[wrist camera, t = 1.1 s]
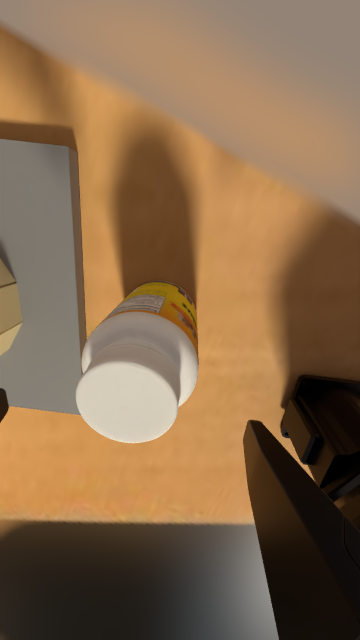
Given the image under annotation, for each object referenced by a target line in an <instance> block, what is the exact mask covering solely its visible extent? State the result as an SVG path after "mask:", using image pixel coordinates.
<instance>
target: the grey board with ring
mask: <svg viewBox="0 0 360 640" xmlns="http://www.w3.org/2000/svg"><path fill="white" fill-rule="evenodd" d="M85 343H86V321H85V300H84V278H83V257H82V236H81V215H80V193H79V172H78V152H76V151H75V150H73V149H72V148H70V147H68V146H61V145H52V144H43V143H33V142H24V141H15V140H6V139H0V388H3V389H5V391H6V394H7V399H8V404H9V406H14V407H22V408H30V409H37V410H45V411H53V412H61V413H69V414H77V415H81V414H80V412H79V409H78V407H77V403H76V388H77V385H78V382H79V380H80V378H81V376H82V375H83V371H82V363H81V362H82V353H83V349H84V346H85Z"/></svg>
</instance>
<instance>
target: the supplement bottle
mask: <svg viewBox="0 0 360 640" xmlns="http://www.w3.org/2000/svg"><path fill="white" fill-rule="evenodd" d="M81 363H82V371H83V375H82V376H81V378H80V380H79V382H78V385H77V388H76V403H77V407H78V409H79V412H80V414H81V415H82V417H83V419H84V420H85V421H86V422H87V424H88V425H89V426H90V427H92V428H93V429H94V430H95V431H97V432H98V433H100V434H101V435H103V436H105V437H107V438H110V439H112V440H116V441H120V442H127V443H141V442H146V441H150V440H153V439H155V438H158V437H159V436H161V435H162V434H164V433H165V432H166V431H167V430H168V429H169V428H170V427H171V426H172V424H173V423H174V421H175V419H176V416H177V412H178V407H179V406H181V405H182V404H183V403H184V402H185V401H186V400H187V399H188V397H189V396H190V395H191V393H192V391H193V389H194V387H195V384H196V381H197V377H198V364H199V363H198V333H197V313H196V308H195V305H194V303H193V301H192V299H191V297H190V296H189V295H188V294H187V293H186V292H185V291H184V290H183V289H182V288H181V287H179V286H177V285H176V284H173V283H171V282H167V281H150V282H146V283H144V284H142V285H140V286H138V287H137V288H135V289H134V290H133V291H132V292H131V293H130V294H129V295H128V296H127V297H126V298H125V299H124V300H123V301H122V302H121V303H120V304H119V305H118V306H117V307H116V308H115V309H114V310H113V311H112V312H111V313H110V314H109V315H108V316H107V317H106V318H105V319H104V320H103V321H102V322H101V323H100V324H99V325H98V326H97V327H96V328H95V330H94V331H93V332H92V333H91V335H90V336H89V338H88V339H87V341H86V343H85V346H84V349H83V353H82V362H81Z"/></svg>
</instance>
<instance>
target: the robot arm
mask: <svg viewBox="0 0 360 640" xmlns="http://www.w3.org/2000/svg"><path fill="white" fill-rule="evenodd" d="M304 381H307V382H305V383H303V382H304ZM8 409H9V404H8V399H7V394H6V391H5V389H3V388H0V422H1V421H2V419H3V418H4V416H5V415H6V413H7V411H8ZM282 421H283V424H282V427H281V433H282V436H283V437H285V438H290V439H291V441H292V444H293V446H294V448H295V450H296V453H297V455H298V457H299V459H300V461H301V462H302V463H303V464H305V465H308V467H309V469H310V471H311V473H312V476H313V478H314V480H315V481H314V480H313V479H312V478H311V477H310V476H309V475H308V473H307V472H306V471H305V470H304V469H303V468H302V467H301V466H300V465H299V463H298V462H297V461H296V460H295V459H294V458H293V457H292V456H291V455H290V453H289V452H288V451H287V450H286V449H285V448H284V447H283V446H282V445H281V443H280V442H279V441H278V440H277V439H276V438H275V437H274V436H273V435H272V433H271V432H270V431H269V430H268V429H267V428H266V427H265V426H264V425H263V423H262V422H260V421H257V420H249V421H248V422H247V426H246V429H245V433H244V437H243V445H244V455H245V464H246V474H247V483H248V491H249V496H250V501H251V506H252V511H253V516H254V520H255V525H256V530H257V535H258V540H259V544H260V550H261V554H262V559H263V564H264V569H265V574H266V578H267V583H268V588H269V593H270V598H271V603H272V608H273V612H274V617H275V622H276V627H277V632H278V636H279V640H360V382H359V381H351V380H342V379H334V378H326V377H318V376H310V375H303V376H301V377H299V379H298V381H297V384H296V387H295V390H294V393H293V396H292V397H291V399H290V400H289V403H288V406H287V409H286V412H285V414H284V417H283V420H282Z"/></svg>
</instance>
